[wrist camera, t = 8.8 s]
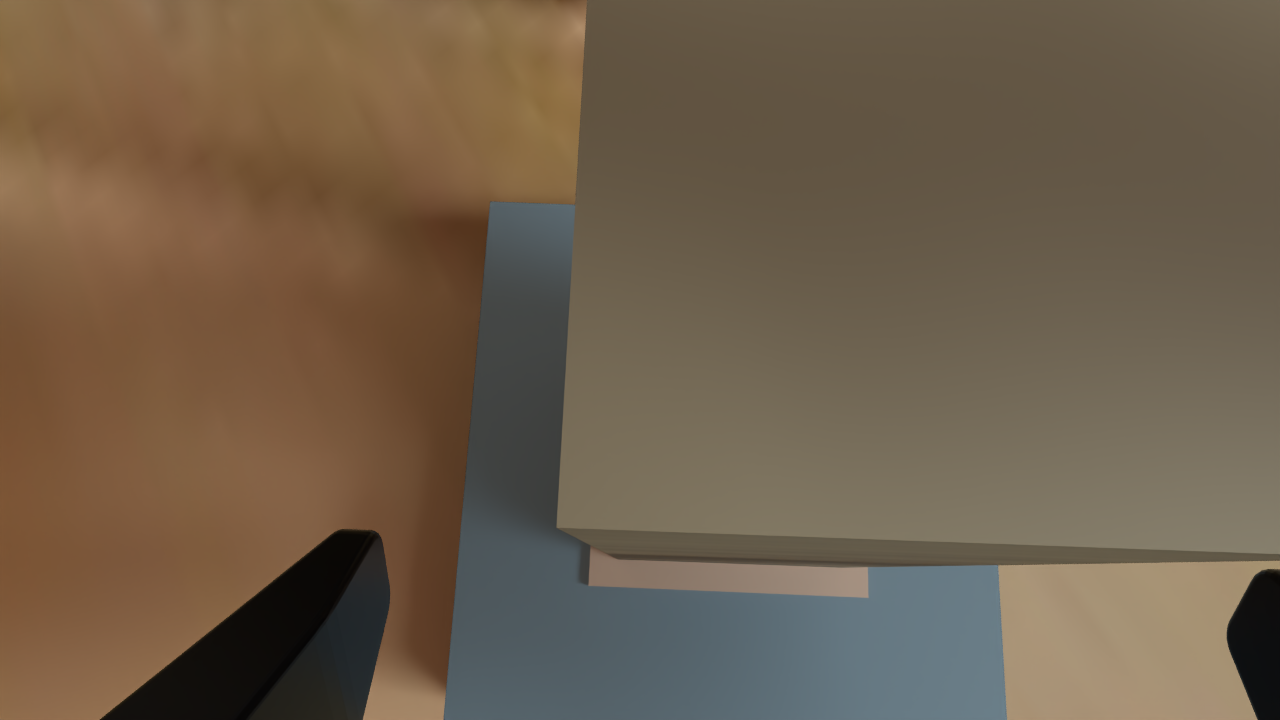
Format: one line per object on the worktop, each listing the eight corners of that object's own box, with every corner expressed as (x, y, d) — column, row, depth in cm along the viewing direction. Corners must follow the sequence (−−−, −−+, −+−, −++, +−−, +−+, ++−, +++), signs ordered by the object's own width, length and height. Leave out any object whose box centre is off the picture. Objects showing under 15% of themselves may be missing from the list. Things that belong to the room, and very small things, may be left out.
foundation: (962, 725, 19) (1012, 749, 16) (467, 704, 19) (441, 724, 16) (941, 258, 22) (981, 216, 19) (506, 241, 22) (488, 197, 19)
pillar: (841, 567, 17) (1400, 557, 5) (617, 559, 17) (556, 527, 5) (836, 351, 18) (1278, -143, 6) (626, 344, 18) (596, -162, 6)
